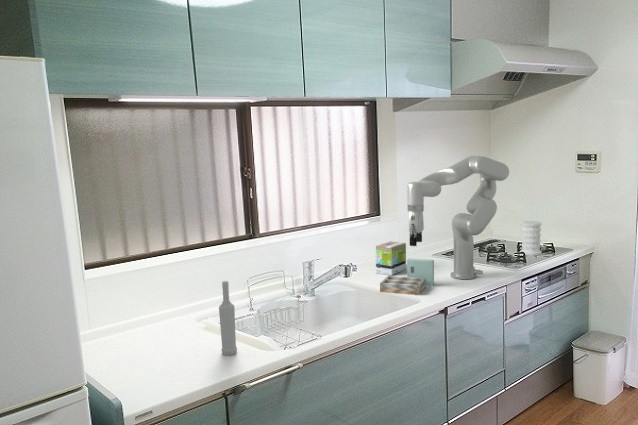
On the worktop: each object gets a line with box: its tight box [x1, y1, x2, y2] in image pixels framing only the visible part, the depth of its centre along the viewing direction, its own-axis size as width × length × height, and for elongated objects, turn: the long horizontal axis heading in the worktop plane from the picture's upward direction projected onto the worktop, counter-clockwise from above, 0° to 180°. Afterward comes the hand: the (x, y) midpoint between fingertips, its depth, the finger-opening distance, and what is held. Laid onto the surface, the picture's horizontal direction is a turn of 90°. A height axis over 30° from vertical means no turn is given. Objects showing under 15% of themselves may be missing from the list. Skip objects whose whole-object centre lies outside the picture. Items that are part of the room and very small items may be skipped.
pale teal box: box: [406, 258, 435, 287], centre depth 262 cm, size 12×4×12 cm, turn 67°
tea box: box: [375, 241, 407, 276], centre depth 288 cm, size 15×10×15 cm, turn 143°
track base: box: [379, 275, 427, 296], centre depth 256 cm, size 18×14×4 cm
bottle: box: [218, 280, 238, 357], centre depth 186 cm, size 5×5×25 cm
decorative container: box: [519, 220, 543, 256], centre depth 318 cm, size 12×12×18 cm
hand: (415, 243), depth 262 cm, fingers open, 9 cm apart
